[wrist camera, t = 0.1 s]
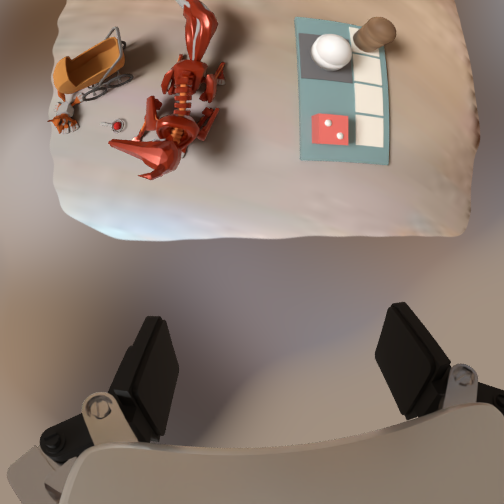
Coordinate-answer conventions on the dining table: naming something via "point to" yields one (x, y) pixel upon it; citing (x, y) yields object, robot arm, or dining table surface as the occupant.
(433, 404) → the robot arm
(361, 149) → the board
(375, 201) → the dining table surface
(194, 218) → the dining table surface
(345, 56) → the dome
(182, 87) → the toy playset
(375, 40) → the brown rounded capsule
